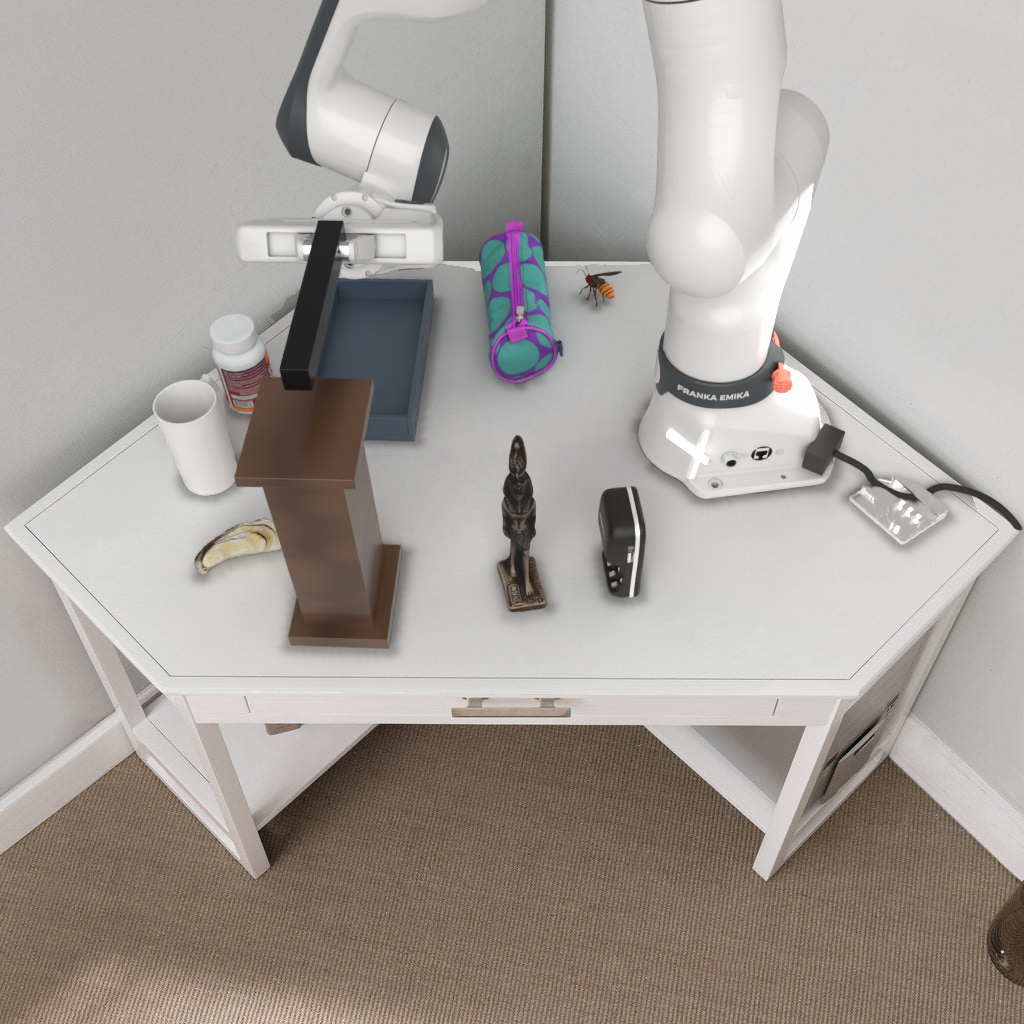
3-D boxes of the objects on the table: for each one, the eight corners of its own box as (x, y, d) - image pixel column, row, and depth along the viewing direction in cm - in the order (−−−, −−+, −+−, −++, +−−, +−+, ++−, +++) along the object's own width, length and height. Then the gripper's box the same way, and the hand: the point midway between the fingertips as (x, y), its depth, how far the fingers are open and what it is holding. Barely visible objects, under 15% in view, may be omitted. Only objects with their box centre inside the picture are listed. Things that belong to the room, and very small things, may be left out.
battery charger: (593, 549, 115) (597, 480, 106) (628, 546, 115) (635, 477, 106) (603, 603, 111) (608, 535, 102) (639, 599, 111) (648, 532, 102)
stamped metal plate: (946, 517, 117) (950, 508, 116) (901, 546, 115) (905, 537, 113) (891, 472, 121) (895, 463, 120) (848, 499, 119) (851, 491, 118)
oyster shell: (235, 589, 118) (298, 529, 116) (228, 602, 114) (293, 540, 113) (193, 553, 116) (257, 491, 115) (186, 565, 113) (251, 501, 111)
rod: (347, 241, 101) (343, 220, 99) (312, 391, 89) (308, 369, 87) (322, 241, 101) (317, 220, 99) (284, 390, 89) (278, 369, 87)
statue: (508, 618, 110) (503, 493, 94) (494, 564, 114) (486, 436, 99) (548, 610, 110) (549, 484, 95) (532, 557, 115) (530, 428, 99)
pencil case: (562, 385, 131) (564, 325, 124) (490, 391, 131) (487, 331, 123) (544, 277, 144) (544, 217, 137) (478, 282, 144) (475, 222, 136)
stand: (402, 553, 115) (372, 378, 95) (388, 648, 108) (353, 480, 87) (310, 551, 116) (262, 376, 96) (290, 645, 108) (233, 477, 88)
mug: (227, 502, 120) (201, 428, 111) (172, 493, 121) (141, 419, 112) (259, 438, 126) (237, 363, 117) (206, 430, 127) (180, 355, 118)
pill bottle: (288, 398, 131) (270, 327, 122) (246, 424, 128) (225, 354, 119) (258, 373, 133) (238, 303, 125) (217, 398, 131) (194, 328, 122)
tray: (434, 301, 141) (432, 279, 138) (414, 441, 126) (411, 419, 123) (335, 300, 142) (331, 277, 139) (303, 439, 126) (297, 416, 123)
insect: (595, 291, 143) (590, 257, 140) (626, 305, 139) (623, 271, 136) (573, 303, 142) (568, 270, 138) (605, 318, 138) (601, 284, 134)
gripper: (252, 201, 110) (210, 214, 97) (450, 203, 109) (434, 217, 96) (257, 263, 112) (217, 285, 99) (451, 266, 111) (436, 288, 98)
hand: (326, 251), depth 98 cm, fingers closed on rod, 2 cm apart
